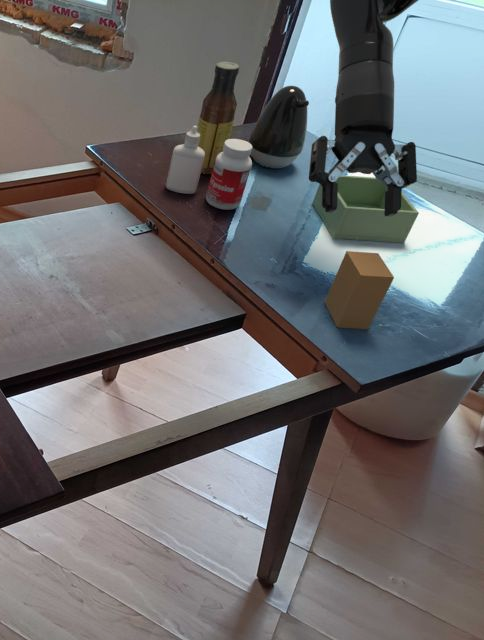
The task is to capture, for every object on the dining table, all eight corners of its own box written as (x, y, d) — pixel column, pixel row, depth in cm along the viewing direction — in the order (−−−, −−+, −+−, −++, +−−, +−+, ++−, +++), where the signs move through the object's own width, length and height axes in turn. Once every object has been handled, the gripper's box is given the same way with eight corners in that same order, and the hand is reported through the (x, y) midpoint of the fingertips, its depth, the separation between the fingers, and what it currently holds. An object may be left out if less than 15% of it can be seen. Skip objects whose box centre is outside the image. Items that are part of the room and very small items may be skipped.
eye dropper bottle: (185, 198, 124) (201, 135, 116) (161, 186, 127) (174, 124, 119) (200, 191, 126) (215, 128, 118) (175, 180, 129) (189, 118, 121)
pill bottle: (198, 200, 124) (212, 142, 116) (217, 191, 127) (233, 133, 120) (227, 214, 120) (244, 155, 113) (246, 204, 124) (264, 146, 116)
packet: (354, 304, 102) (378, 252, 96) (368, 329, 97) (394, 277, 91) (324, 302, 102) (346, 250, 96) (336, 327, 97) (360, 275, 91)
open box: (378, 207, 125) (391, 178, 122) (404, 243, 116) (419, 212, 112) (312, 203, 125) (323, 173, 121) (332, 238, 116) (345, 207, 112)
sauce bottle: (222, 165, 135) (249, 61, 122) (221, 179, 131) (250, 73, 118) (188, 160, 136) (212, 57, 123) (187, 174, 132) (211, 68, 119)
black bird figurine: (260, 176, 132) (284, 98, 122) (235, 153, 140) (256, 77, 130) (306, 173, 135) (334, 96, 125) (279, 150, 142) (303, 76, 132)
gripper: (326, 87, 94) (323, 202, 93) (429, 94, 94) (427, 209, 93) (303, 110, 102) (300, 217, 101) (399, 116, 102) (396, 223, 101)
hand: (361, 213), depth 97 cm, fingers open, 8 cm apart
